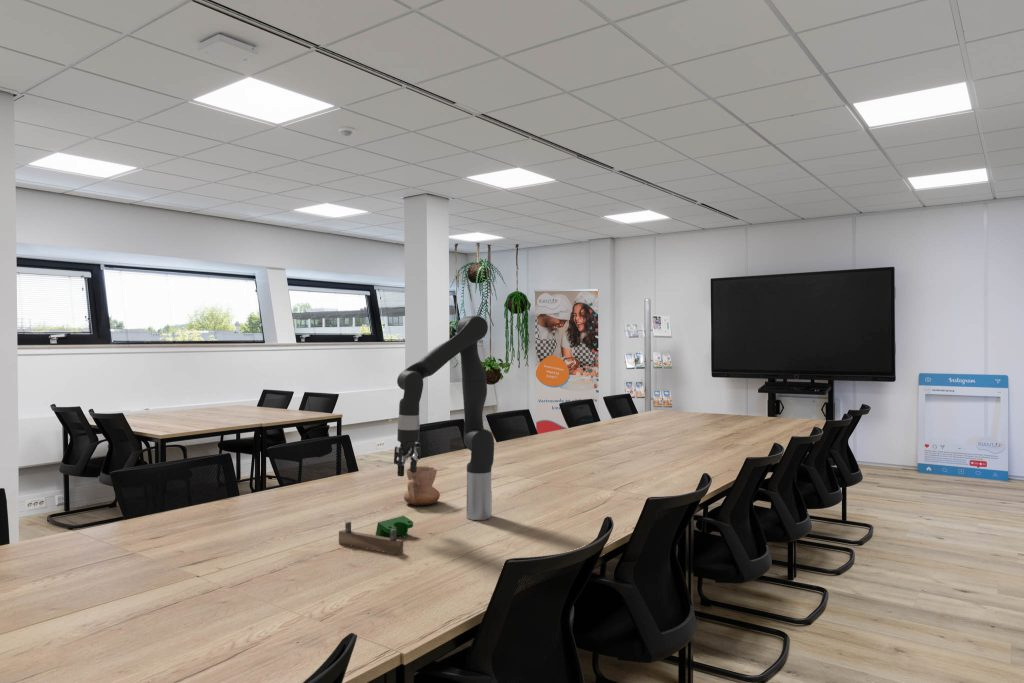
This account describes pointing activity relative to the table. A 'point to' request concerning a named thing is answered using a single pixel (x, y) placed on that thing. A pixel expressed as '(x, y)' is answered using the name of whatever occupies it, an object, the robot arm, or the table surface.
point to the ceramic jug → (421, 486)
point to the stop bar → (371, 540)
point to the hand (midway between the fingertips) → (407, 474)
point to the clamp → (394, 526)
